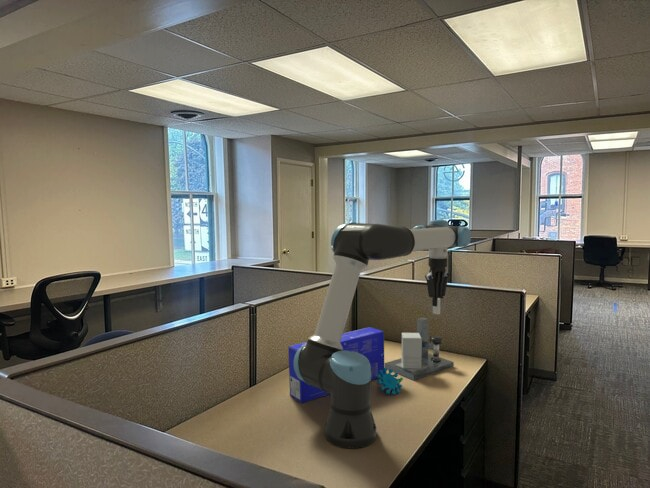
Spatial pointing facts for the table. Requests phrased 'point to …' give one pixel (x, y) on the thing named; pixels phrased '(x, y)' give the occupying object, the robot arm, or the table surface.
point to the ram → (436, 344)
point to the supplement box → (411, 350)
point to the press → (427, 360)
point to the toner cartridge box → (357, 341)
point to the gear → (389, 381)
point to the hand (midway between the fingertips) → (436, 313)
